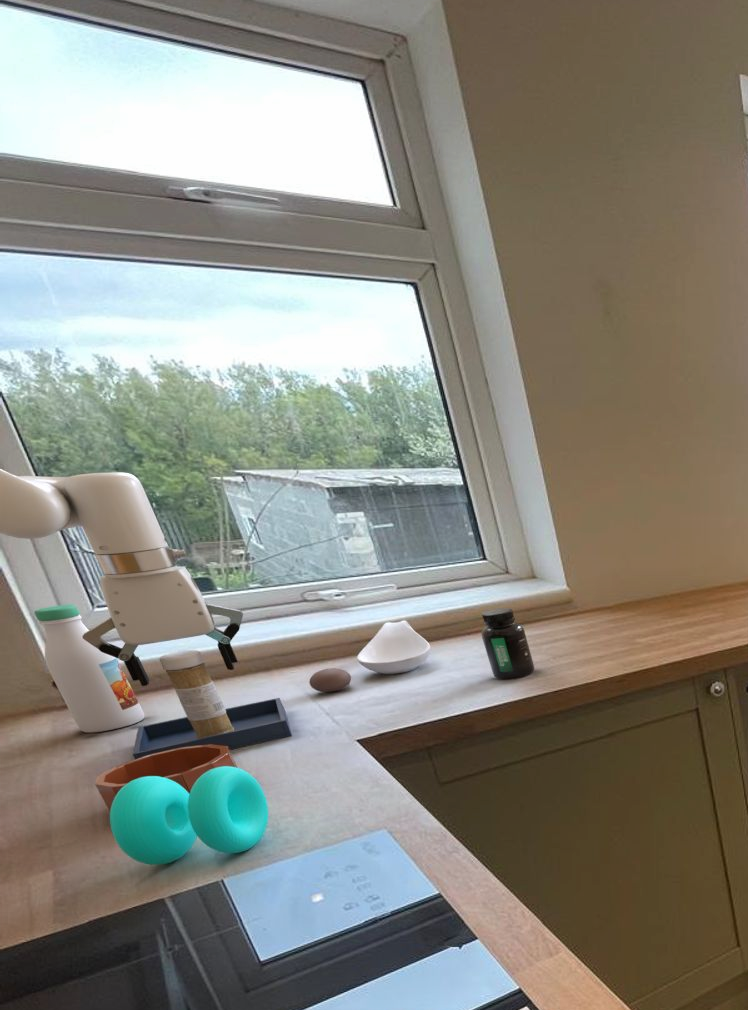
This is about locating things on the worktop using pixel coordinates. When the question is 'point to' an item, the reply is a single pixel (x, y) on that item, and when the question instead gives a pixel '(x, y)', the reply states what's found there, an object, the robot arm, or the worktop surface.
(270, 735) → the tray
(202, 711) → the sprinkles bottle
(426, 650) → the spoon rest
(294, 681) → the worktop surface
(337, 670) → the egg
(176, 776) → the bowl
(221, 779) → the donuts
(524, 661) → the supplement bottle
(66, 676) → the milk bottle
